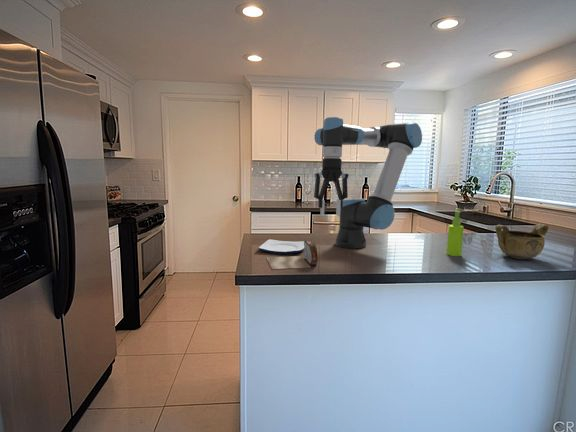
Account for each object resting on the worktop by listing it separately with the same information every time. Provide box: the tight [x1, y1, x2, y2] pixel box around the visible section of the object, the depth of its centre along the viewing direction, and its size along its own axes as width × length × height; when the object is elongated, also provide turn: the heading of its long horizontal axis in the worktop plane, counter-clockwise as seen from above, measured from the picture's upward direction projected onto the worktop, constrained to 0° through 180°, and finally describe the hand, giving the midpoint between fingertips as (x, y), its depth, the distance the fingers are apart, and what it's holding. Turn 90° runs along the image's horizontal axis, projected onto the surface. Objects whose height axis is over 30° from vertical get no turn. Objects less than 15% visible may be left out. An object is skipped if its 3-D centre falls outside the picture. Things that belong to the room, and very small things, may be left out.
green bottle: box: [446, 209, 465, 257], centre depth 150 cm, size 6×7×20 cm
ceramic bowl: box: [495, 223, 549, 260], centre depth 146 cm, size 22×17×15 cm
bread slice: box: [303, 239, 319, 266], centre depth 136 cm, size 15×3×8 cm, turn 9°
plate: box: [258, 239, 305, 255], centre depth 156 cm, size 20×20×3 cm
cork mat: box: [265, 255, 312, 271], centre depth 135 cm, size 15×16×1 cm
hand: (330, 215), depth 136 cm, fingers open, 6 cm apart
